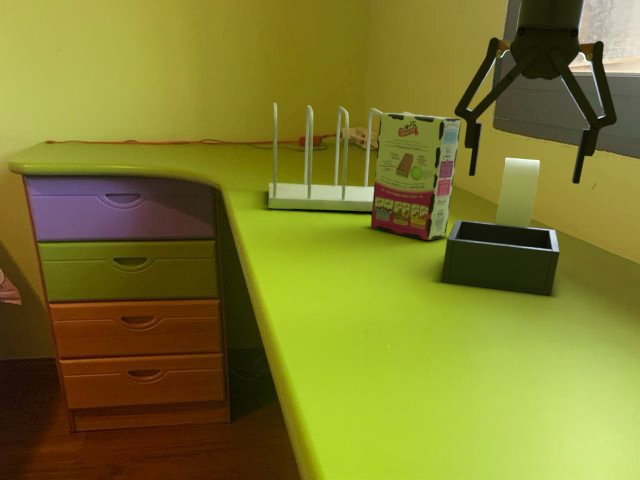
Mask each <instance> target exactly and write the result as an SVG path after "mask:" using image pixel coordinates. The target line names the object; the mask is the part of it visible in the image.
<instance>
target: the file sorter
mask: <svg viewBox="0 0 640 480" xmlns="http://www.w3.org/2000/svg"><path fill="white" fill-rule="evenodd" d="M381 113H383V112H382V111H380V110H379V109H377V108H375V107H371V108H370V109H369V113H368V121H367V130H366V131H367V133H366V148H365V149H366V151H365V168H364V183H363V186H361V185H360V186H359V185H346V184H347V181H346V180H347V171H348V170H347V167H348V152H349V151H348V150H349V134H350V133H349V132H350V131H349V129H350V118H349V112H348V110H347V109H346V108H344V107H343V106H341V105H340V106H338V109H337V117H336V118H337V119H336V137H335V155H334V156H335V157H334V178H333V179H334V180H333V184H312V175H313V174H312V173H313V172H312V171H313V145H314V143H313V142H314V141H313V140H314V110H313V107H312V106H311V105H310V104H307V105H306V113H305V137H304V138H305V140H304V141H305V142H304V164H303V165H304V167H303V183H287V182H277V181H278V180H277V177H278V176H277V175H278V173H277V171H278V170H277V169H278V167H277V166H278V165H277V164H278V105H277V102H273V103H272V182H268V201H267V202H268V203H267V204H268V206H267V207H268V208H271V209H276V210H277V209H278V210H295V209H298V210H321V211H322V210H324V211H325V210H327V211H351V212H352V211H355V212H372V206H373V195H374V186H368V182H369V167H370V166H369V165H370V150H371V136H372V135H371V134H372V119H373V114H375V115H377V116H378V117H380V114H381ZM342 114H343V115H344V144H343V163H342V181H341V182H342V185H338V178H339V177H338V176H339V159H340V157H339V156H340V139H341V138H340V136H341V120H342V119H341V117H342ZM401 114H412V112H408V111H403V112H402V113H401Z"/></svg>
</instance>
